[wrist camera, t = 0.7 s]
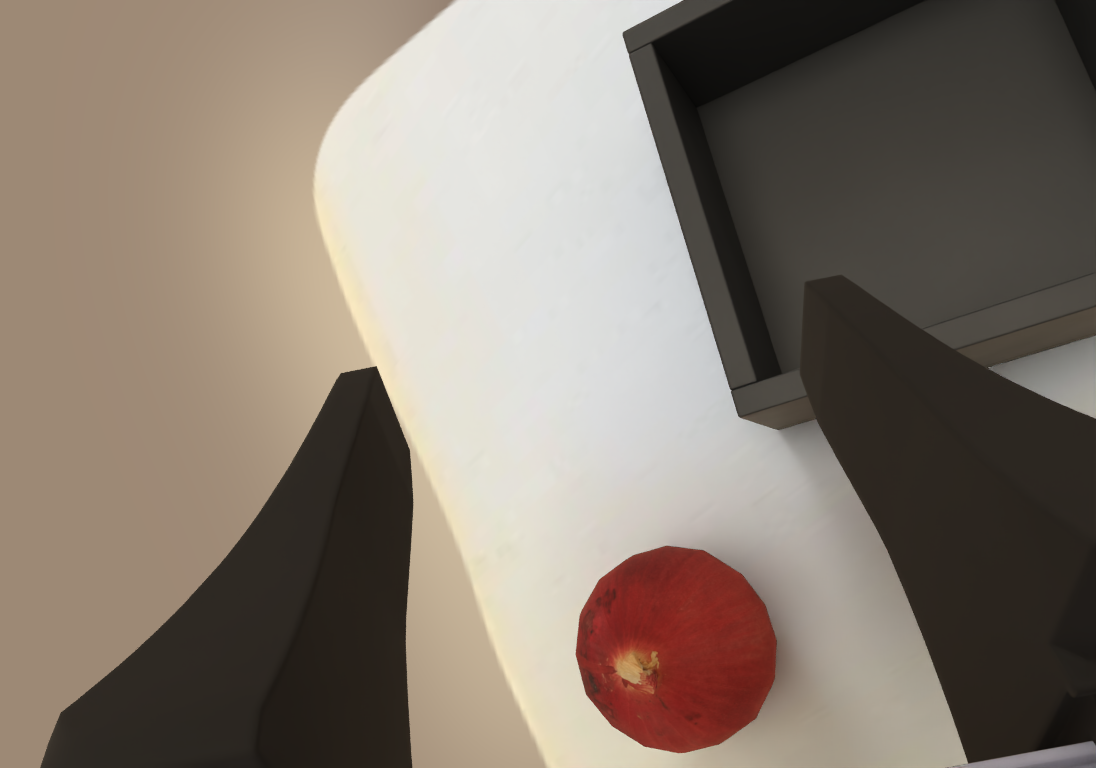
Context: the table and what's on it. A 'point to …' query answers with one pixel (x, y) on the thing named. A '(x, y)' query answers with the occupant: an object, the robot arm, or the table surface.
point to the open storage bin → (878, 170)
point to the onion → (676, 649)
